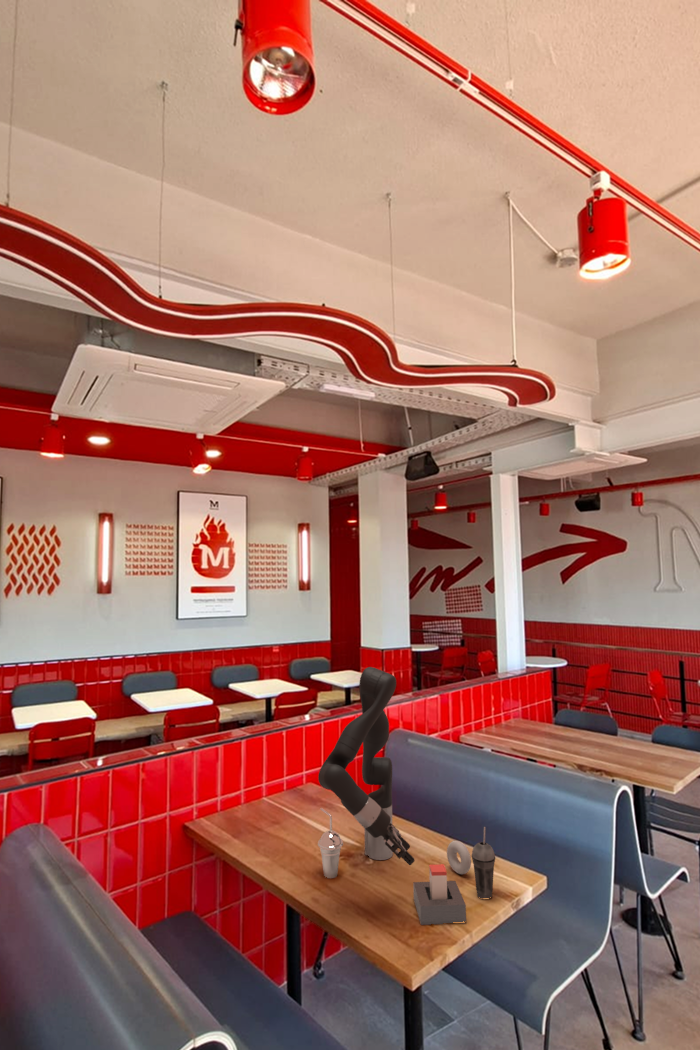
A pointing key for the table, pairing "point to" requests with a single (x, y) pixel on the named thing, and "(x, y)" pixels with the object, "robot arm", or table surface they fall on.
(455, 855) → the donut
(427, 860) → the table surface
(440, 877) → the plug peg
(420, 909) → the square socket housing
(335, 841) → the cup with straw
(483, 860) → the beverage cup
